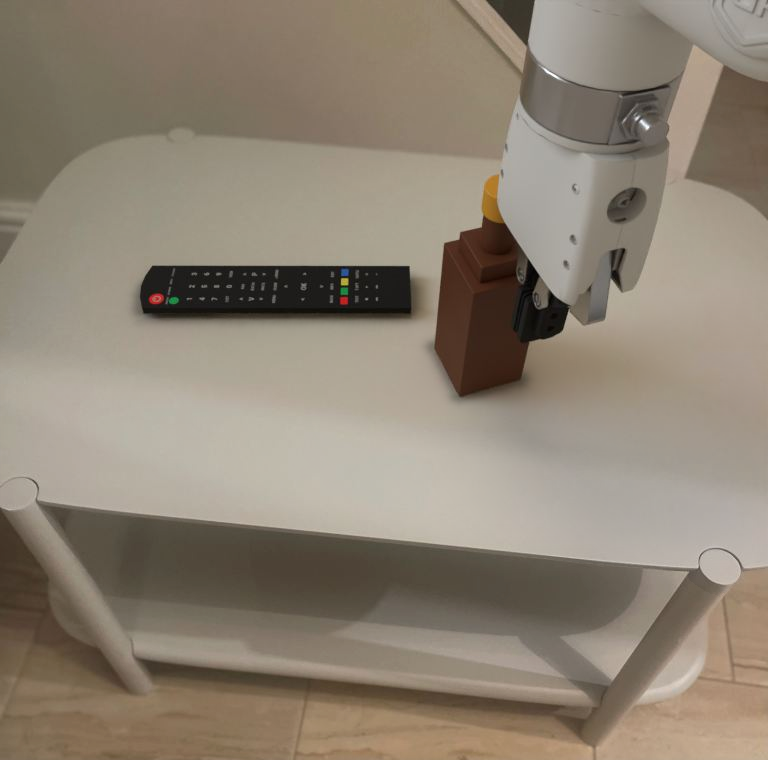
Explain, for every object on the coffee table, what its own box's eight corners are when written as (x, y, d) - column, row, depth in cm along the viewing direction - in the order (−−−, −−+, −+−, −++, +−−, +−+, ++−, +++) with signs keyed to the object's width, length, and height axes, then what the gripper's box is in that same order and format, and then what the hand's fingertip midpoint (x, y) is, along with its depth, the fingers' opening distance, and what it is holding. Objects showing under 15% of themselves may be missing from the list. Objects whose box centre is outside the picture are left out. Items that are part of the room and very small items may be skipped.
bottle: (520, 379, 66) (562, 203, 52) (459, 397, 65) (483, 221, 50) (493, 332, 69) (525, 154, 55) (433, 348, 68) (450, 169, 54)
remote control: (410, 318, 70) (411, 308, 69) (138, 318, 70) (135, 307, 69) (409, 276, 73) (409, 265, 72) (149, 276, 73) (146, 265, 72)
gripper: (752, 157, 36) (641, 400, 50) (591, 1, 44) (536, 247, 59) (605, 191, 34) (534, 431, 48) (468, 22, 43) (442, 269, 57)
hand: (535, 330), depth 54 cm, fingers closed
